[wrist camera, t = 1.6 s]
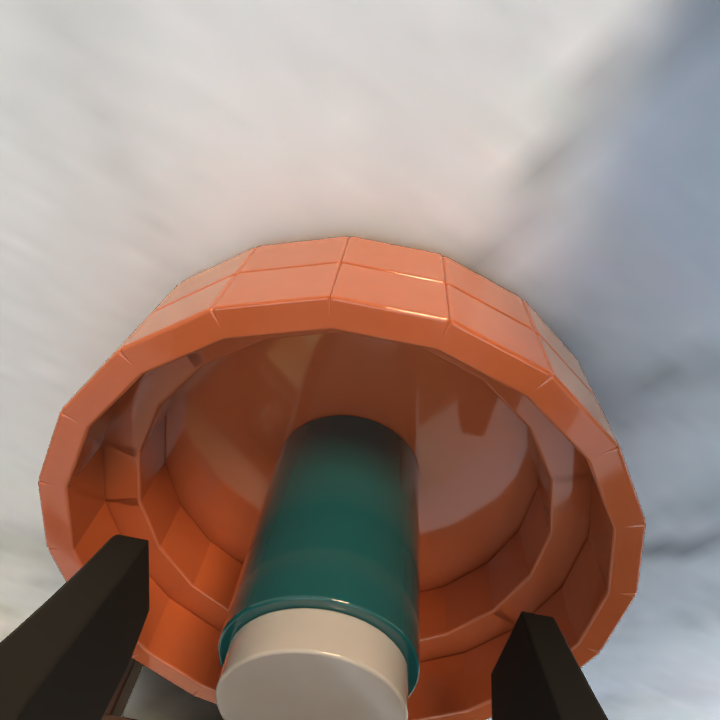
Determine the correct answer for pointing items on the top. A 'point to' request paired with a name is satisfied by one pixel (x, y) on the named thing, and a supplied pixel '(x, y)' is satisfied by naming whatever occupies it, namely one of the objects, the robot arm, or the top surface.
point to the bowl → (363, 399)
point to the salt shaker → (328, 583)
